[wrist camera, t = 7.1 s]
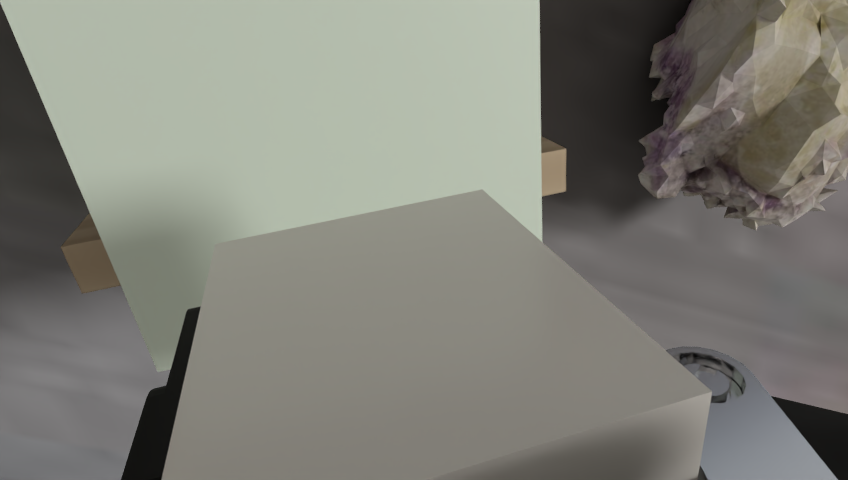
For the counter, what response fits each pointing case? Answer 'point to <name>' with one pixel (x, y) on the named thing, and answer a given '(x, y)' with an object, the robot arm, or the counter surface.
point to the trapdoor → (277, 121)
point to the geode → (752, 107)
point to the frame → (99, 274)
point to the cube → (424, 360)
